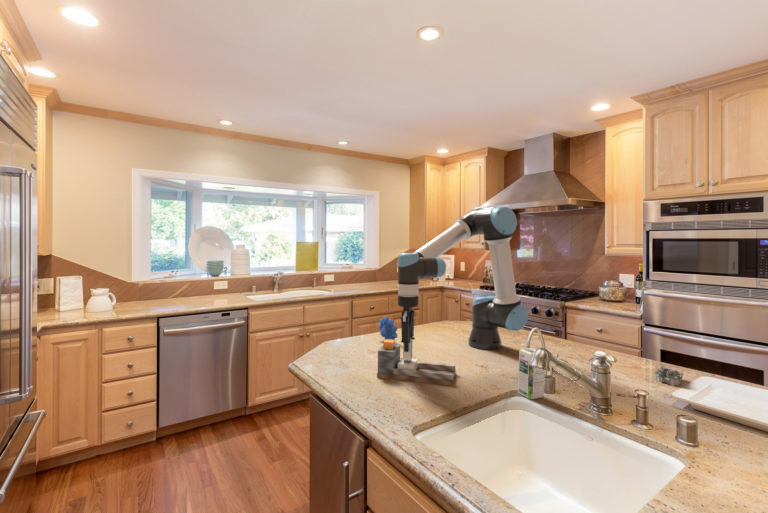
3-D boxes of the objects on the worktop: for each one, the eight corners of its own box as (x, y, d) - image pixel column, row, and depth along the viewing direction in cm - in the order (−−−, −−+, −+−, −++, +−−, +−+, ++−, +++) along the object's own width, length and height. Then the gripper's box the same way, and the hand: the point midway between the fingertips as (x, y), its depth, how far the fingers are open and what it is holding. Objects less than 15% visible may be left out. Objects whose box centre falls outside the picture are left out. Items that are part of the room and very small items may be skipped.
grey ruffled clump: (677, 388, 128) (678, 376, 128) (652, 381, 134) (652, 370, 134) (685, 380, 135) (685, 369, 135) (660, 374, 141) (661, 364, 140)
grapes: (372, 341, 184) (373, 316, 184) (382, 338, 189) (382, 314, 189) (391, 345, 176) (391, 320, 176) (400, 342, 182) (400, 318, 181)
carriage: (417, 367, 142) (417, 335, 141) (413, 373, 135) (414, 340, 134) (401, 365, 143) (402, 334, 143) (397, 372, 137) (397, 339, 136)
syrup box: (517, 393, 123) (518, 349, 122) (531, 390, 125) (532, 347, 124) (530, 400, 117) (531, 354, 117) (544, 397, 120) (545, 352, 119)
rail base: (455, 373, 140) (455, 348, 140) (452, 385, 129) (452, 358, 128) (385, 366, 148) (385, 342, 147) (376, 377, 136) (377, 351, 136)
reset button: (395, 347, 142) (395, 340, 142) (392, 350, 139) (392, 342, 138) (386, 347, 143) (386, 339, 143) (383, 349, 139) (383, 341, 139)
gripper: (402, 291, 146) (402, 351, 147) (392, 297, 131) (392, 364, 133) (421, 292, 144) (421, 353, 145) (414, 298, 129) (413, 366, 131)
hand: (407, 358), depth 139 cm, fingers closed on carriage, 2 cm apart
